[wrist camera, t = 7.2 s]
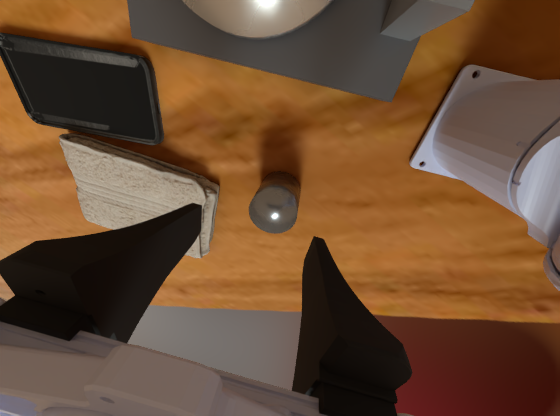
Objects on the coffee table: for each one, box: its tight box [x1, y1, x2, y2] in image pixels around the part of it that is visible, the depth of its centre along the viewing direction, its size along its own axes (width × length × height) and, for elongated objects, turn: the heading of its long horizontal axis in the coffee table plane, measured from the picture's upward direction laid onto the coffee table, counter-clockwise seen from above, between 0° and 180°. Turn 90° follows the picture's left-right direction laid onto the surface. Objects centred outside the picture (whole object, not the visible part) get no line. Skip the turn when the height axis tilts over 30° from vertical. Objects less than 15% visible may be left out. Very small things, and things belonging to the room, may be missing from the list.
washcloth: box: [59, 133, 220, 258], centre depth 25 cm, size 12×18×3 cm, turn 75°
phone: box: [0, 33, 164, 145], centre depth 21 cm, size 8×1×15 cm
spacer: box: [249, 171, 301, 233], centre depth 21 cm, size 4×4×5 cm
